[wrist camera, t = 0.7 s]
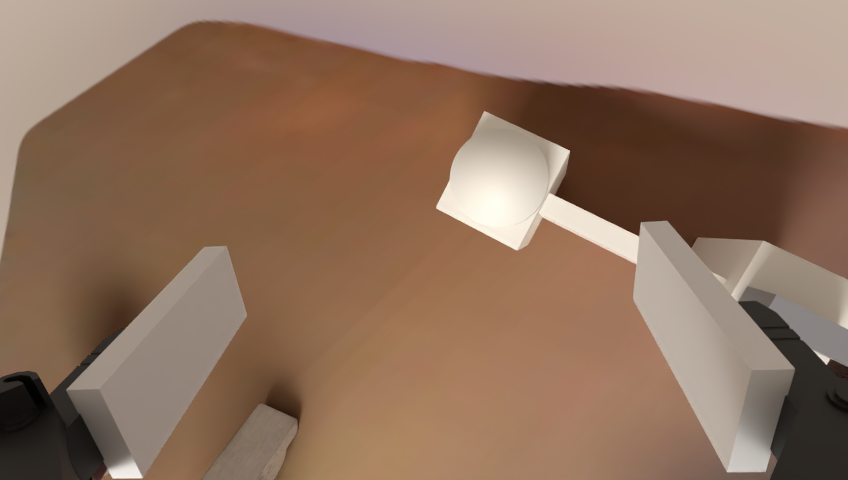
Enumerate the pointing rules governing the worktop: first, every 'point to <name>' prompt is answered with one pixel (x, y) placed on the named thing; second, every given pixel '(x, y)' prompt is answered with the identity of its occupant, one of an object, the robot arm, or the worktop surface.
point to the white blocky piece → (726, 258)
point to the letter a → (256, 447)
